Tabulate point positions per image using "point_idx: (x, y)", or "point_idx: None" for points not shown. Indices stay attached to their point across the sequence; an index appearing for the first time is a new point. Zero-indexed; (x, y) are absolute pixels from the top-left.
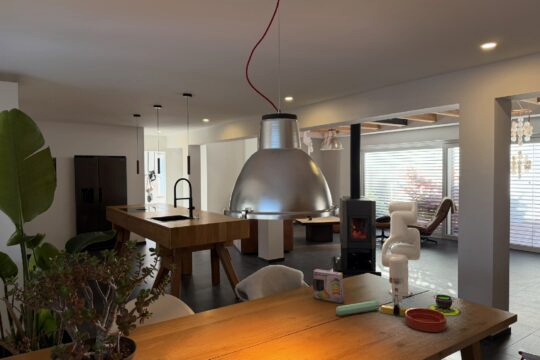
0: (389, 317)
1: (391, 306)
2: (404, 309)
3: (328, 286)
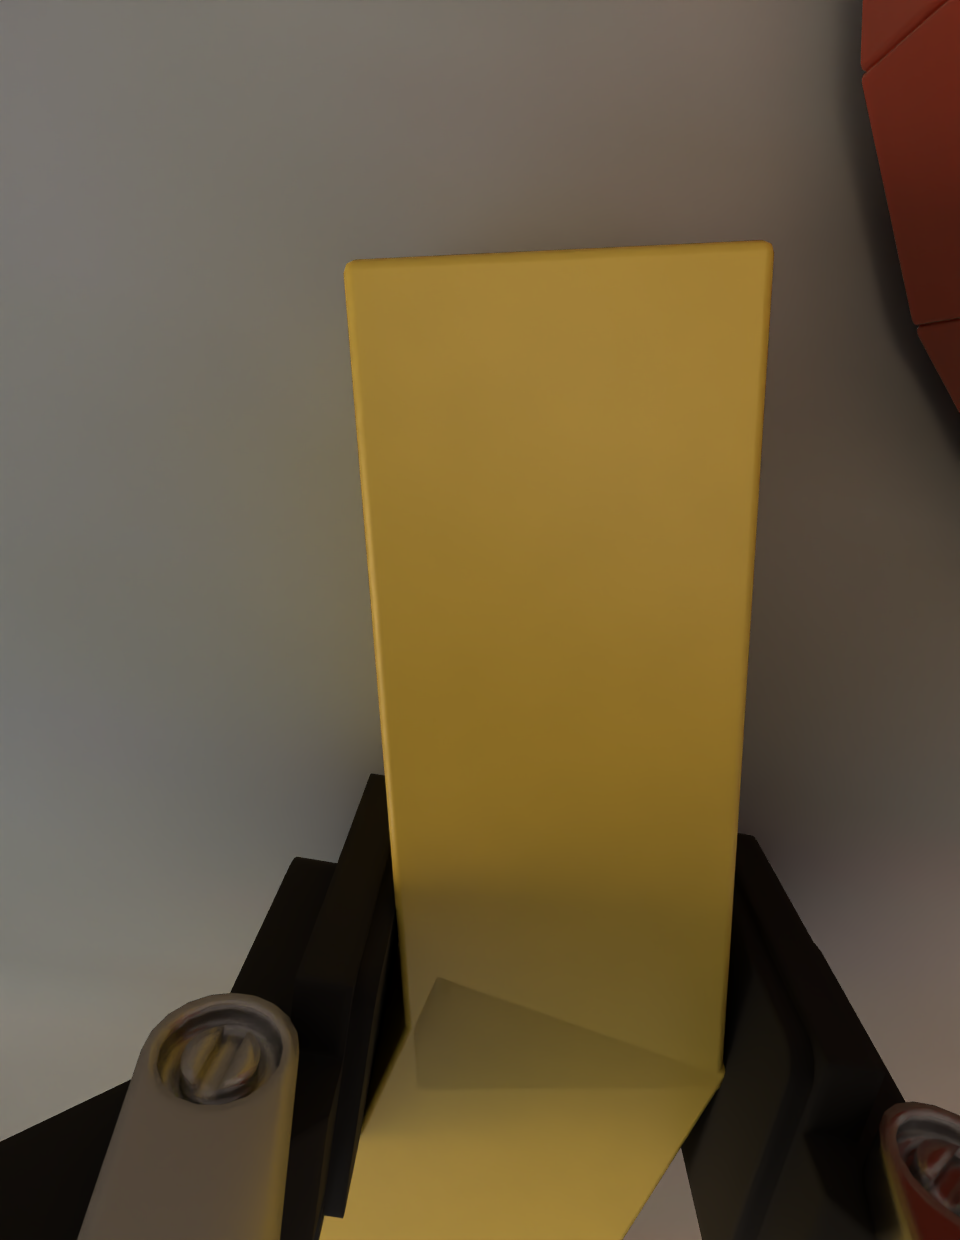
0: None
1: None
2: (699, 716)
3: None
